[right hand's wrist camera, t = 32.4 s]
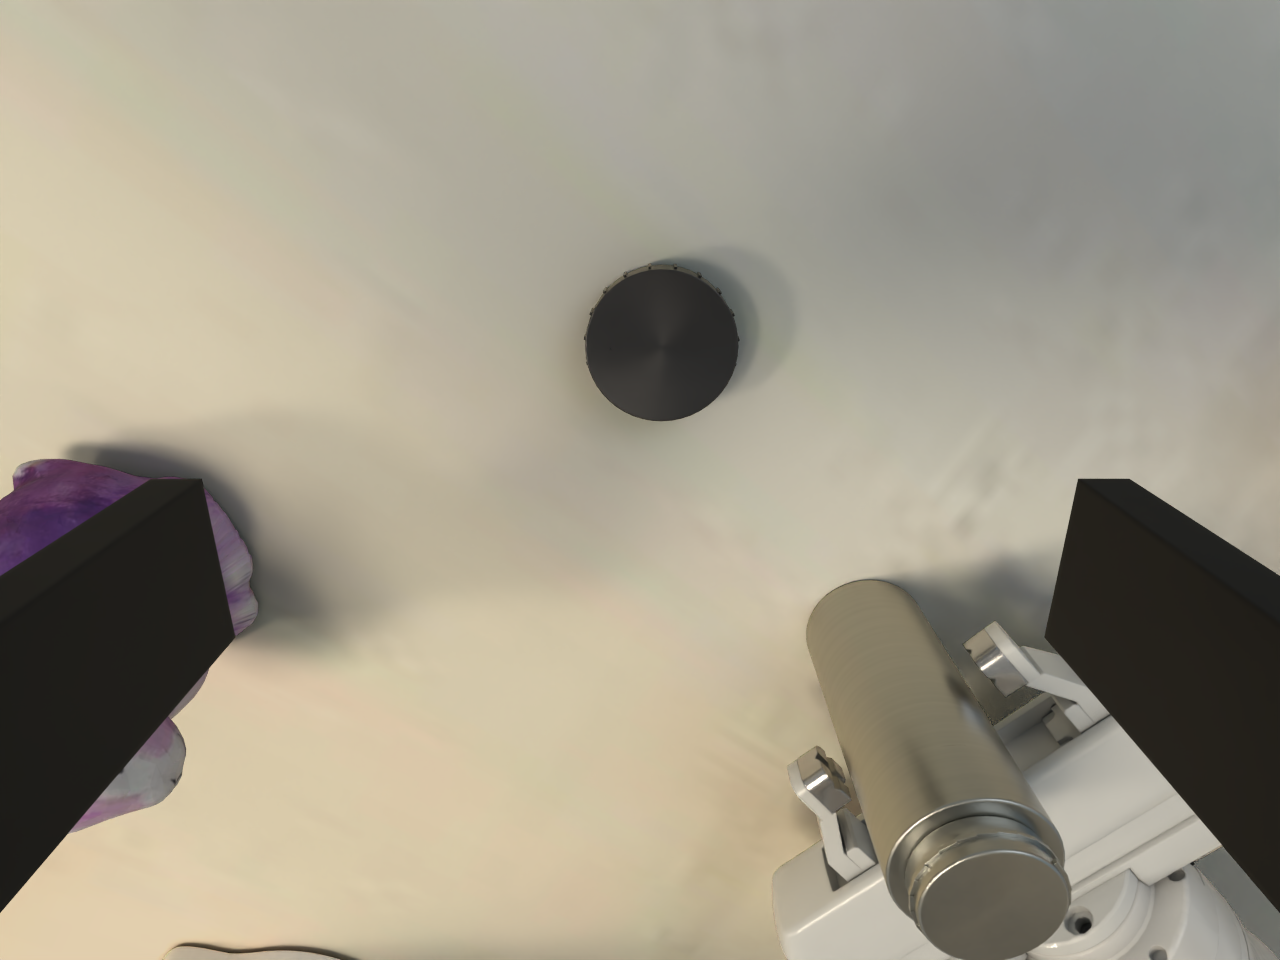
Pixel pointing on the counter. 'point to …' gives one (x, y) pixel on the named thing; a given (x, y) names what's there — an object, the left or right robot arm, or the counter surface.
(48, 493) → the figurine
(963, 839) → the thermos bottle
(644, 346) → the lid
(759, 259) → the counter surface
